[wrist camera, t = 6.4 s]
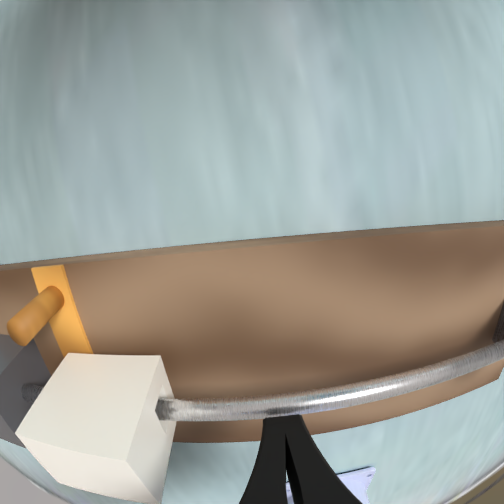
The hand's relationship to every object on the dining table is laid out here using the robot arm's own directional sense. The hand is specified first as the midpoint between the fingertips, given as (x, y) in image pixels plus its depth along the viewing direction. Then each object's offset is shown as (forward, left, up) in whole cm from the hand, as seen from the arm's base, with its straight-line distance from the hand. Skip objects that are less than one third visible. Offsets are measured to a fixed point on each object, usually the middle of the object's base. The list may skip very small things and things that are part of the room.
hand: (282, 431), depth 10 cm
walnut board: (0, 0, -5) cm, 5 cm away
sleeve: (0, +7, -3) cm, 8 cm away
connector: (0, +15, -5) cm, 16 cm away
